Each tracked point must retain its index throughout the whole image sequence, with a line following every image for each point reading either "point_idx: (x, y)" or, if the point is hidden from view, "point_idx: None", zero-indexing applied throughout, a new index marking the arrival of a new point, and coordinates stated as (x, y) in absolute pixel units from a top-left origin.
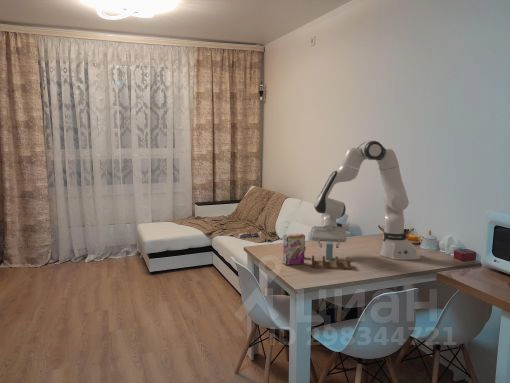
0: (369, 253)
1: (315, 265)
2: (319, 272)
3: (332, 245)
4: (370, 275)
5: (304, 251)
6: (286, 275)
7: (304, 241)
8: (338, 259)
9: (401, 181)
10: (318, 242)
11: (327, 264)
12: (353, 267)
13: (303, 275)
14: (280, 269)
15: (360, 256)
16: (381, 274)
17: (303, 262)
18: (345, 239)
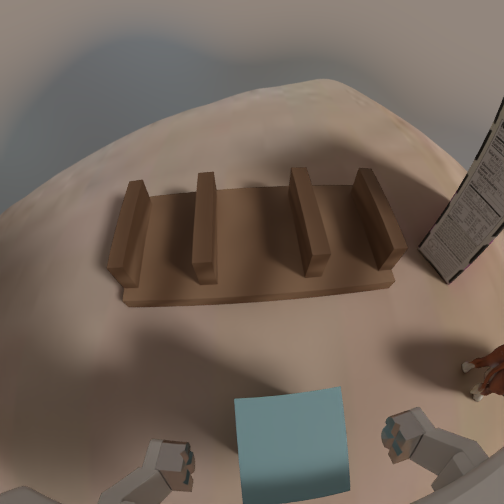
0: None
1: (342, 189)
2: (303, 149)
3: (242, 399)
4: (89, 168)
5: (481, 384)
6: (399, 126)
7: (486, 136)
8: (197, 197)
9: None
10: (451, 445)
11: (276, 216)
12: None
13: (352, 125)
14: (447, 168)
15: (43, 485)
16: (48, 190)
17: (421, 242)
18: (23, 486)
